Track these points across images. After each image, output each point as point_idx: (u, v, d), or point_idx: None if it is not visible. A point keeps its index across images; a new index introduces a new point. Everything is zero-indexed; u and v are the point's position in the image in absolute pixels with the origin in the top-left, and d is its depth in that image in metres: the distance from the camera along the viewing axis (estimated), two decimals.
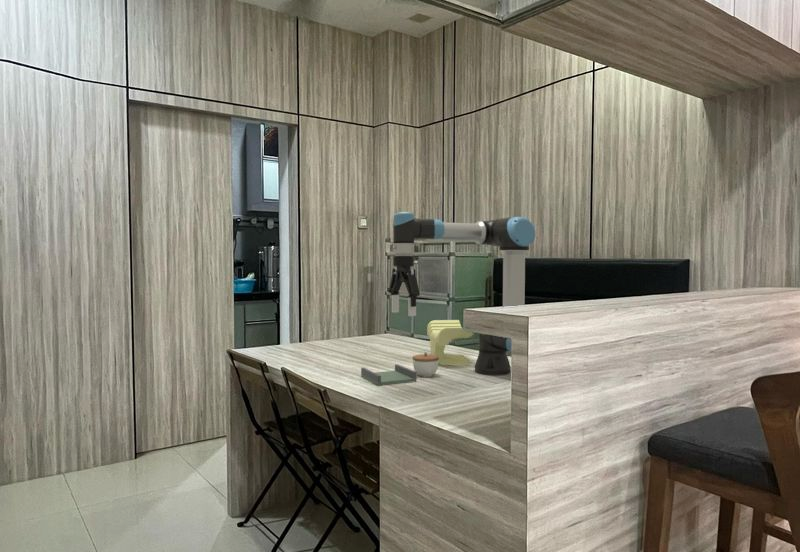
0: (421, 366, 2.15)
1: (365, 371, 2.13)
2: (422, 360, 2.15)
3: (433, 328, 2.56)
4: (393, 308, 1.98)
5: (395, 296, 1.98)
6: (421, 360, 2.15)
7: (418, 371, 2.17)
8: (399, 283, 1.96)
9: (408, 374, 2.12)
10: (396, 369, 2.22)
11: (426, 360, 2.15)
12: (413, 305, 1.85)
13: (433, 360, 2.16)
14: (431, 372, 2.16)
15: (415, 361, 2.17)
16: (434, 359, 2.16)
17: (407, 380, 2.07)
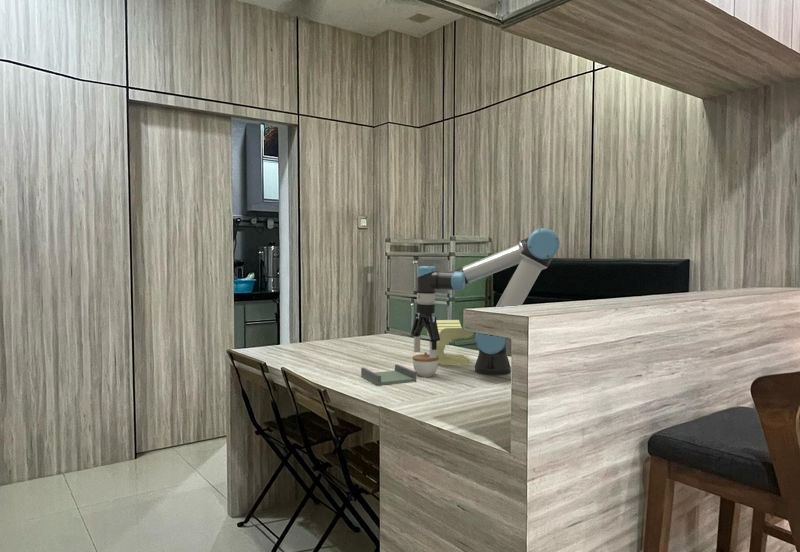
0: (421, 366, 2.15)
1: (365, 371, 2.13)
2: (422, 360, 2.15)
3: None
4: (415, 348, 2.25)
5: (417, 338, 2.25)
6: (421, 360, 2.15)
7: (418, 371, 2.17)
8: (421, 327, 2.23)
9: (408, 374, 2.12)
10: (396, 369, 2.22)
11: (426, 360, 2.15)
12: (434, 348, 2.12)
13: (433, 360, 2.16)
14: (431, 372, 2.16)
15: (415, 361, 2.17)
16: (434, 359, 2.16)
17: (407, 380, 2.07)
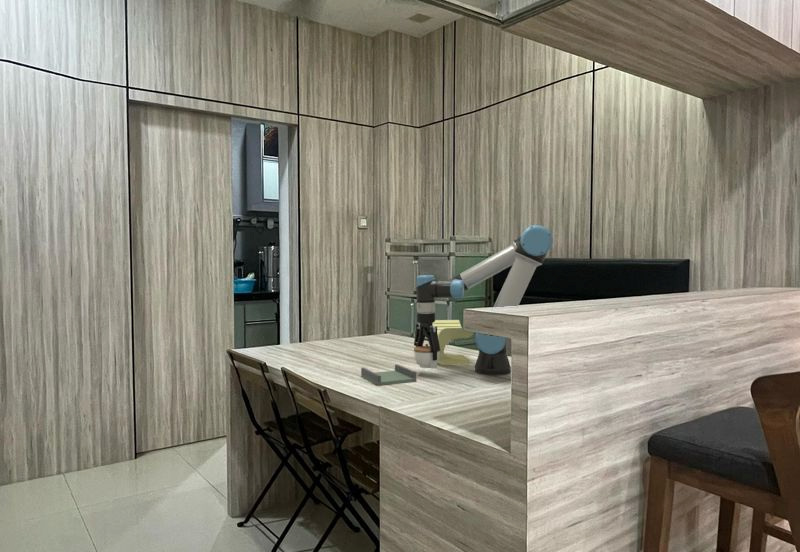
0: (423, 357, 2.15)
1: (365, 371, 2.13)
2: (423, 351, 2.15)
3: None
4: None
5: None
6: (422, 351, 2.15)
7: (419, 362, 2.17)
8: (423, 337, 2.23)
9: (408, 374, 2.12)
10: (396, 369, 2.22)
11: (427, 351, 2.14)
12: (434, 359, 2.13)
13: None
14: None
15: (416, 352, 2.17)
16: None
17: (407, 380, 2.07)
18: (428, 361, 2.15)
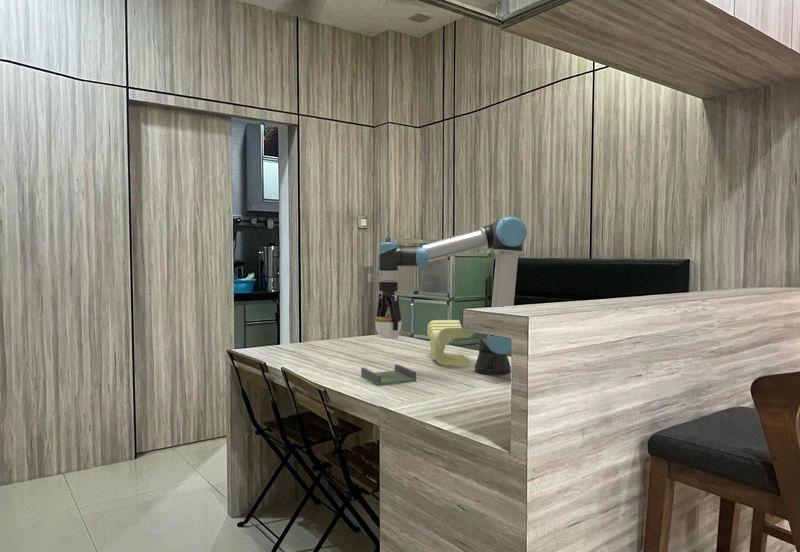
0: (383, 327, 2.07)
1: (365, 371, 2.13)
2: (384, 320, 2.07)
3: (433, 328, 2.56)
4: None
5: None
6: (383, 320, 2.07)
7: (380, 332, 2.09)
8: (385, 307, 2.15)
9: (408, 374, 2.12)
10: (396, 369, 2.22)
11: (388, 320, 2.07)
12: (395, 329, 2.06)
13: None
14: None
15: (377, 322, 2.09)
16: None
17: (407, 380, 2.07)
18: (389, 331, 2.07)
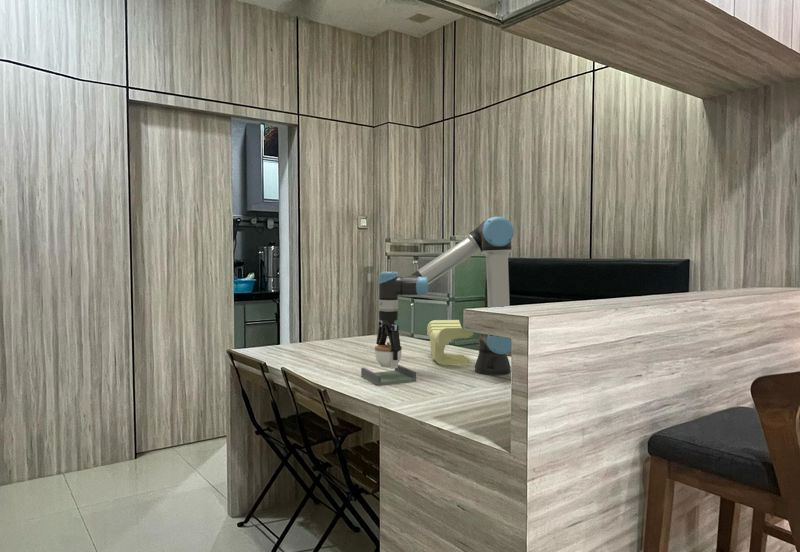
0: (383, 356, 2.08)
1: (365, 371, 2.13)
2: (384, 350, 2.07)
3: (433, 328, 2.56)
4: None
5: None
6: (383, 350, 2.07)
7: (380, 361, 2.09)
8: (385, 335, 2.15)
9: (408, 374, 2.12)
10: (396, 369, 2.22)
11: (388, 350, 2.07)
12: (395, 359, 2.06)
13: None
14: None
15: (377, 351, 2.09)
16: None
17: (407, 380, 2.07)
18: (388, 360, 2.08)
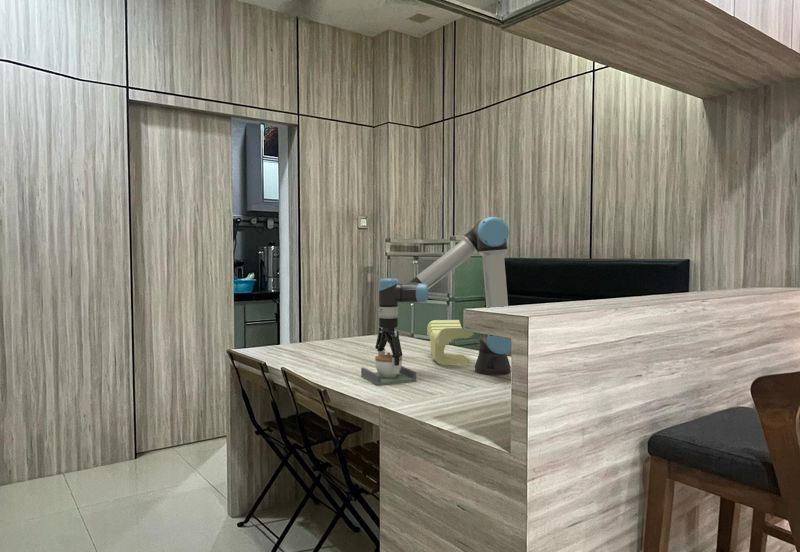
0: (383, 367, 2.08)
1: (365, 371, 2.13)
2: (384, 360, 2.07)
3: (433, 328, 2.56)
4: None
5: (381, 352, 2.18)
6: (383, 360, 2.08)
7: (380, 372, 2.09)
8: (384, 341, 2.16)
9: (408, 374, 2.12)
10: None
11: (388, 360, 2.07)
12: (396, 364, 2.05)
13: None
14: None
15: (377, 361, 2.10)
16: None
17: (407, 380, 2.07)
18: (389, 371, 2.08)
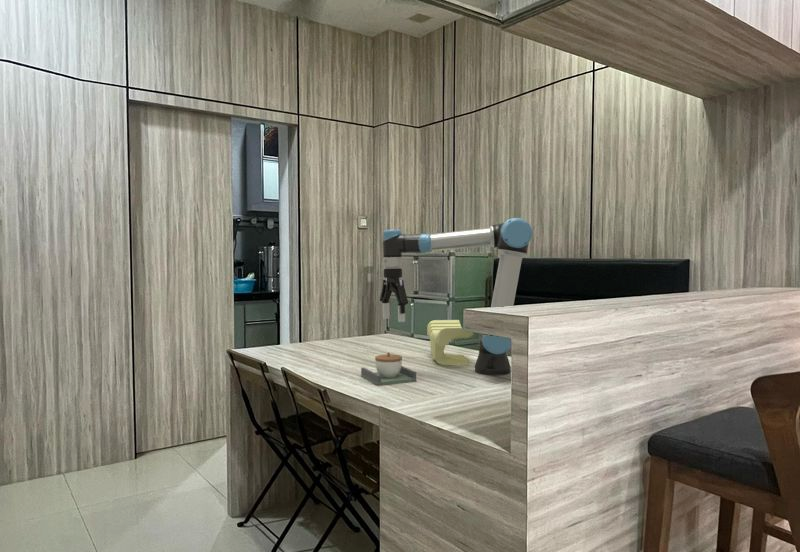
0: (383, 367, 2.08)
1: (365, 371, 2.13)
2: (384, 360, 2.07)
3: (433, 328, 2.56)
4: (384, 315, 2.21)
5: (386, 304, 2.22)
6: (383, 360, 2.08)
7: (380, 372, 2.09)
8: (389, 292, 2.19)
9: (408, 374, 2.12)
10: None
11: (388, 360, 2.07)
12: (402, 312, 2.09)
13: (395, 360, 2.08)
14: (394, 373, 2.09)
15: (377, 361, 2.10)
16: (397, 359, 2.08)
17: (407, 380, 2.07)
18: (389, 371, 2.08)
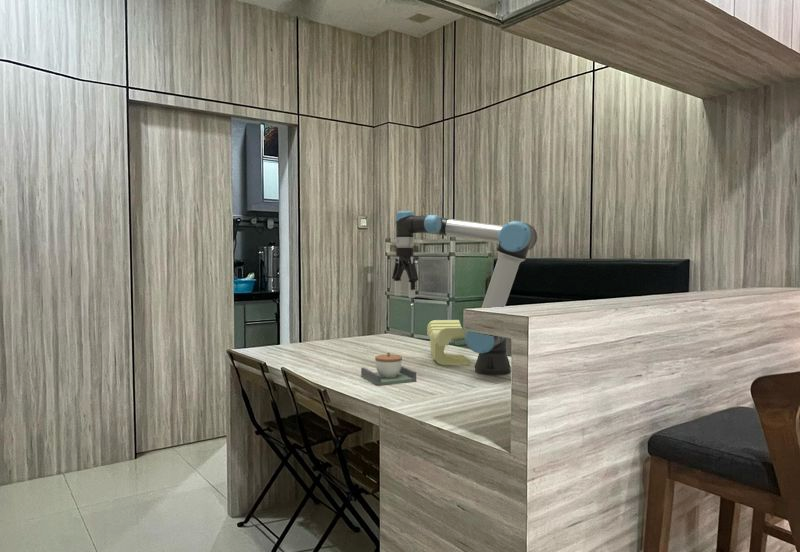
0: (383, 367, 2.08)
1: (365, 371, 2.13)
2: (384, 360, 2.07)
3: (433, 328, 2.56)
4: (396, 292, 2.35)
5: (397, 282, 2.35)
6: (383, 360, 2.08)
7: (380, 372, 2.09)
8: (401, 271, 2.33)
9: (408, 374, 2.12)
10: None
11: (388, 360, 2.07)
12: (413, 288, 2.22)
13: (395, 360, 2.08)
14: (394, 373, 2.09)
15: (377, 361, 2.10)
16: (397, 359, 2.08)
17: (407, 380, 2.07)
18: (389, 371, 2.08)
